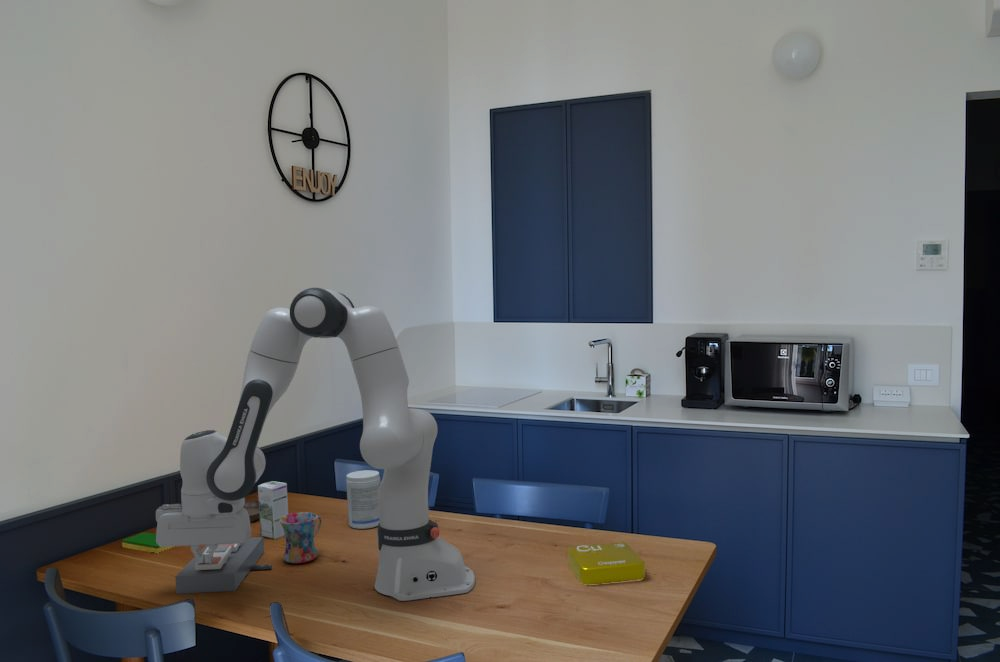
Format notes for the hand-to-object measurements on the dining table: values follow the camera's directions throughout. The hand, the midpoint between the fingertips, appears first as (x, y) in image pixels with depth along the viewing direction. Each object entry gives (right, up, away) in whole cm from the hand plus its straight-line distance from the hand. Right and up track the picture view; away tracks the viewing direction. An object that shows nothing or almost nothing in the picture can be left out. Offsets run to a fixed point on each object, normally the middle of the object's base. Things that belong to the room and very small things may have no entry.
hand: (205, 563), depth 171 cm
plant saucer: (-11, -4, +55) cm, 57 cm away
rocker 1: (0, -1, +5) cm, 5 cm away
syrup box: (+5, -4, +37) cm, 38 cm away
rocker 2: (0, 0, +17) cm, 17 cm away
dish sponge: (-27, -6, +32) cm, 42 cm away
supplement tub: (+28, -3, +44) cm, 53 cm away
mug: (+18, -5, +19) cm, 26 cm away
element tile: (+91, -4, +3) cm, 91 cm away
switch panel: (+3, -5, +11) cm, 13 cm away
